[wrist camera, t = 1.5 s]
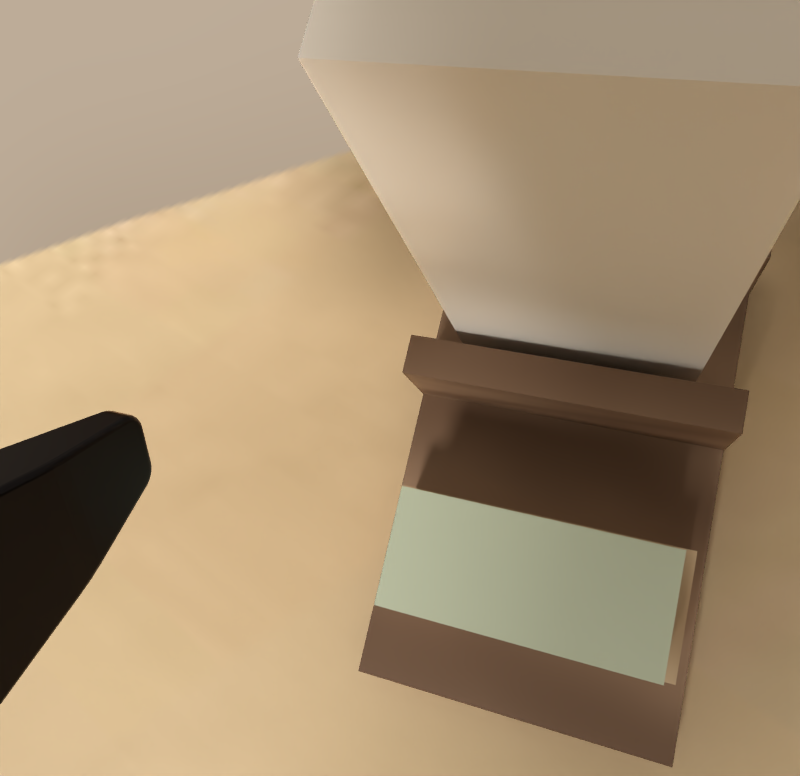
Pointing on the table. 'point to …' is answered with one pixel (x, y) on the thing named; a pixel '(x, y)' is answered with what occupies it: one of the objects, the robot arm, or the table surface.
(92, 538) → the robot arm
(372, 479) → the table surface
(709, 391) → the rack
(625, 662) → the offcut upper
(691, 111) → the white rectangular block
